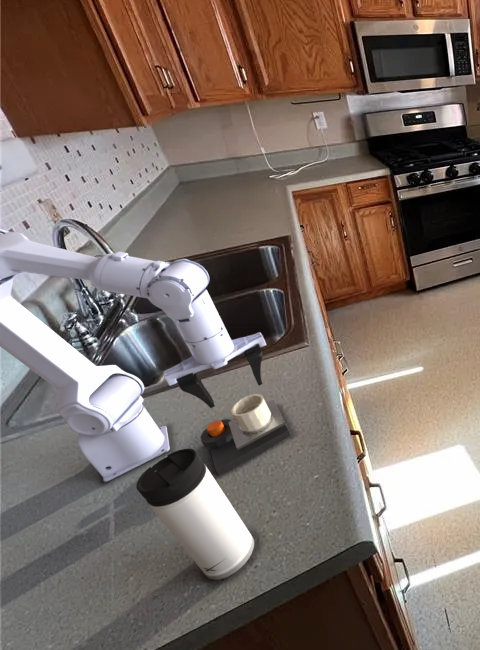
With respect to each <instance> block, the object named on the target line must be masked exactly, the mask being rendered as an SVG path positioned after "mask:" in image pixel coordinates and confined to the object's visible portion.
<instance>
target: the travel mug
mask: <svg viewBox="0 0 480 650" xmlns="http://www.w3.org/2000/svg"><path fill="white" fill-rule="evenodd" d="M135 487H136V490H137V492H138V493H139V495H141V496H142V498H143V499H145V501H146V503H147V505H148V506H149V507H150V508H151V510H152V511H153V512H154V513H155V515H156V516H157V517H158V518H159V520H160V521H161V522H162V523H163V525H164V526H165V527H166V528H167V529H168V530H169V532H170V533H171V534H172V536H173V537H174V538H175V539H176V541H177V542H178V543H179V544H180V545H181V547H182V548H183V549H184V550H185V552H186V553H187V554H188V556H189V557H190V558H191V559H192V560H193V562H194V563H195V564H196V565H197V566H198V568H199V569H200V570H201V571H202V573H203V574H204V575H205V576H206V577H207V579H210V580H211V581H212V580H213V581H218V580H223V579H226V578H229V577H230V576H232V575H234V574H235V573H237V572H238V571H240V569H242V567H244V565H246V563H247V562H248V560H250V557H251V556H252V553H253V551H254V549H255V539H254V537H253V536H252V534H251V532H250V530H248V528H247V526H246V525H245V523H244V521H243V520H242V519H241V517H240V515H239V514H238V512H237V511H236V509H235V508H234V507H233V505H232V503H231V502H230V500H229V499H228V497H227V496H226V494H225V492H223V489H222V488H221V487H220V485H219V484H218V482H217V480H216V479H215V477H214V476H213V475H212V473H211V471H210V470H209V469H208V467H207V465H206V464H205V463H204V462H203V461H202V459H201V457H200V456H199V454H198V453H197V451H196V450H195V449H193V448H182V449H178V450H176V451H173V452H171V453H169V454H167V455H166V456H165V457H164V458H162V459H161V460H159V461H157V462H156V463H155V464H153V465H152V466H149V467H148V468H147V469H145V471H143V472H142V474H141V475H140V476H139V478H138V480H137V482H136V485H135Z"/></svg>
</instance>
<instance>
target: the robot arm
mask: <svg viewBox="0 0 480 650" xmlns="http://www.w3.org/2000/svg"><path fill="white" fill-rule="evenodd" d="M21 273H27V274H36V275H43V276H51V277H59V278H68V279H75V280H76V279H77V280H86V281H90V283H92V285H93V286H94V287H95V288H96V289H97V290H99V291H102V292H103V291H104V292H109V293H115V294H120V295H126V296H132V297H138V298H144V299H147V300H148V301H149V302H150V303H151V304H152V305H154V306H155V307H157V308H159V309H160V310H162V311H163V313H165V315H166V317H167V318H170V320H172V322H173V324H174V325H175V327H176V329H177V331H178V332H179V334H180V336H181V337H182V340H183V342H184V343H185V345H186V347H187V349H188V351H189V352H190V354H191V356H190V357H188V358H186V359H185V360H183V361H181V362H180V363H178V364H176V365H174V366H172V367H170V368H168V369H165V370H163V378H164V380H165V382H166V383H167V384H168V386H169V387H170V386H173V385H176V384H178V386H179V389H180V390H181V391H182V392H184V393H187V394H190V395H191V396H193V397H196V398H198V399H199V400H201V401H202V402H203V403H204V404H206V405H207V406H208V408H210V409H213V408H215V407H216V405H215V401H214V399H213V397H212V395H211V393H210V392H209V391H208V390H207V388H206V387H205V385H204V383H203V382H202V380H201V378H200V375H199V374H198V373H199V372H202V371H204V370H208V369H212V370H217V369H220V368H222V367H225V366H227V365H228V361H230V360H232V359H233V358H235V357H237V356H239V355H241V354H244V356H245V358H246V360H247V362H248V364H249V366H250V369H251V371H252V375H253V377H254V379H255V381H256V383H257V385H258V386H262V385H263V379H262V373H261V372H262V371H261V368H262V361H263V357H264V356H263V354H264V353H263V351H262V349H261V348H264V347H265V346H267V343H266V340H265V338H264V335H263V334H262V333H261V332H260V331H259V332H256V333H253V334H250V335H247V336H243V337H238V338H235V339H232V338H231V337H230V335H229V333H228V330H227V328H226V326H225V324H224V322H223V319H222V318H221V315H219V312H218V310H217V308H216V305H215V303H214V302H213V300H212V297H211V295H210V294H209V292H208V290H207V289H206V288H207V287H208V285H209V284H210V275H209V273H208V270H206V269H205V267H204V266H203V265H201V264H200V263H198V262H195V261H193V260H189V259H187V258H179V259H176V260H174V261H162V260H151V259H147V258H141V257H136V256H131V255H129V253H128V252H124V251H117V252H110V253H107V254H104V255H102V256H100V257H97V256H92V255H89V254H85V253H80V252H77V251H73V250H70V249H69V250H68V249H65V248H61V247H56V246H53V245H49V244H44V243H40V242H36V241H33V240H30V239H29V238H28V236H26V235H25V234H24V233H22V232H19V231H9V230H6V229H3V228H0V348H1V349H2V350H4V351H5V352H7V353H8V354H10V355H11V356H12V357H13V358H15V360H18V361H19V362H20V363H22V365H24V366H26V367H27V368H28V369H29V370H31V371H32V372H33V373H34V374H36V375H38V376H39V377H41V378H42V379H43V380H44V381H46V382H47V383H48V384H50V385H51V386H52V387H54V388H55V389H56V390H57V396H56V401H55V406H54V412H55V413H57V414H58V415H59V416H60V417H62V419H63V420H64V421H65V424H66V425H67V427H69V429H70V430H71V431H73V432H74V433H77V442H78V447H79V449H80V450H81V452H82V454H83V455H84V457H85V458H86V459H87V461H89V463H90V464H91V465H92V466H93V468H94V469H95V470H96V471H97V472H98V473H99V474H100V476H101V477H102V479H103V482H105V483H107V482H109V481H111V480H113V479H115V478H117V477H119V476H121V475H123V474H125V473H127V472H130V471H132V470H133V469H136V468H137V467H140V466H142V465H143V464H146V463H147V462H149V461H151V460H153V459H156V458H157V457H159V456H162V455H164V454H165V453H167V452H169V451H170V449H171V447H170V441H169V434H168V428H167V425H162V426H158V424H156V422H155V420H154V419H153V418H152V416H151V414H150V413H149V412H148V409H146V408H145V405H144V404H143V403H144V398H143V397H142V394H143V393H144V391H145V385H144V383H143V381H142V380H141V378H139V377H137V376H136V375H135V374H132V373H129V372H126V371H125V370H123V369H121V367H119V366H118V365H116V364H108V365H107V364H106V365H96V364H95V363H93V362H92V361H91V360H90V359H88V358H87V357H86V356H85V355H83V354H82V353H81V352H80V351H78V350H77V349H76V348H75V347H73V346H72V345H71V344H70V343H68V342H67V341H66V340H65V339H64V338H62V337H61V336H60V335H59V334H58V333H57V332H55V331H54V330H53V329H52V328H50V326H48V325H46V324H45V323H44V322H43V321H42V320H41V319H40V318H38V317H37V316H35V314H34V313H32V312H31V311H29V310H28V309H27V308H26V307H24V305H22V304H21V303H20V302H18V301H17V300H16V299H15V298H14V297H12V289H13V284H14V281H15V279H16V278H17V276H18V275H19V274H21Z"/></svg>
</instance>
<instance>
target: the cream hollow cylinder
mask: <svg viewBox="0 0 480 650" xmlns="http://www.w3.org/2000/svg"><path fill="white" fill-rule="evenodd" d="M266 403H267V402H266V400H265V398H264V396H263V395H262V394H259V393H253V394H249V395H246V396H243V397H242V398H240V399H239V400H238V401H236V402H235V403H234V404H233V405H232V407H231V410H230V414H231V415H232V417H233V418H234V419H235V420H236V422H237V424H238V426H239V428H240V429H241V430H242V431H247V432H252V431H256V430H258V429H260V428H262V427H263V426H264V425H266V424H267V422H268V421H269V419H270V416H271V412H270V410H269V408H268V406H267V404H266ZM234 419H233V420H234Z"/></svg>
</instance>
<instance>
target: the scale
mask: <svg viewBox="0 0 480 650" xmlns="http://www.w3.org/2000/svg"><path fill="white" fill-rule="evenodd" d="M232 420H233V419H229V418H226V419H220V421H221V422H222V423H223V425H224V427H225V431H224V432H223V433H222V434H220V435H218V436H216V437H211V436H210V434H209V432H208V431H207V427H206V428H205V429H204V430H203V431H202V433H201V435H200V437H199V438H200V442H201V443H202V445H203V446H204V447H205V448H207V449H209V450H210V453H211V458H212V461H213V465H214V470H215V472H216V473H217V475H218V476H221V475H223V474H224V473H226V472H228V471H230V470H231V469H233V468H235V467H237V466H239V465H241V464H242V463H244V462H246V461H247V460H250V459H251V458H253V457H255V456H256V455H258V454H261V453H262V452H264V451H265V450H267V449H268V448H269V449H270V448H271V447H273V446H274V445H276V444H278V443H279V442H281V441H283V440H285V439H287V438H289V437H291V435H292V434H291V432H290V430H289V427H288V426H287V424H285V425H283V426H282V427H280V428H278V429H276V430H274V431H272V432H270V433H269V434H267V435H265V436H263V437H261V438H259V439H258V440H256V441H254V442H252V443H250V444H248V445H246V446H245V447H243V448H241V449H239V450H238V449H237V447H236V444H235V441H234V438H233V435H232V432H231V429H230V426H229V423H228V422H230V421H232Z"/></svg>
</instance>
